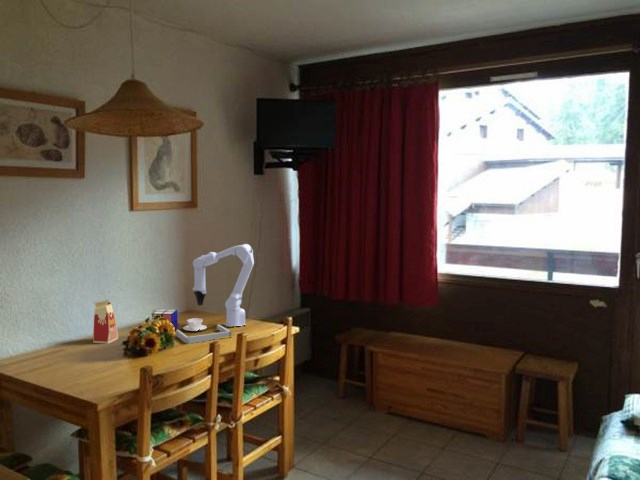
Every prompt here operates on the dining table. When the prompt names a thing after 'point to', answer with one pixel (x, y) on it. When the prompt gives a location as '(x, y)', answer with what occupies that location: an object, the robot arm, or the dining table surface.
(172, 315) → the puzzle cube
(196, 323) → the teacup
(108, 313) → the milk carton
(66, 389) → the dining table surface
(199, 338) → the tray
